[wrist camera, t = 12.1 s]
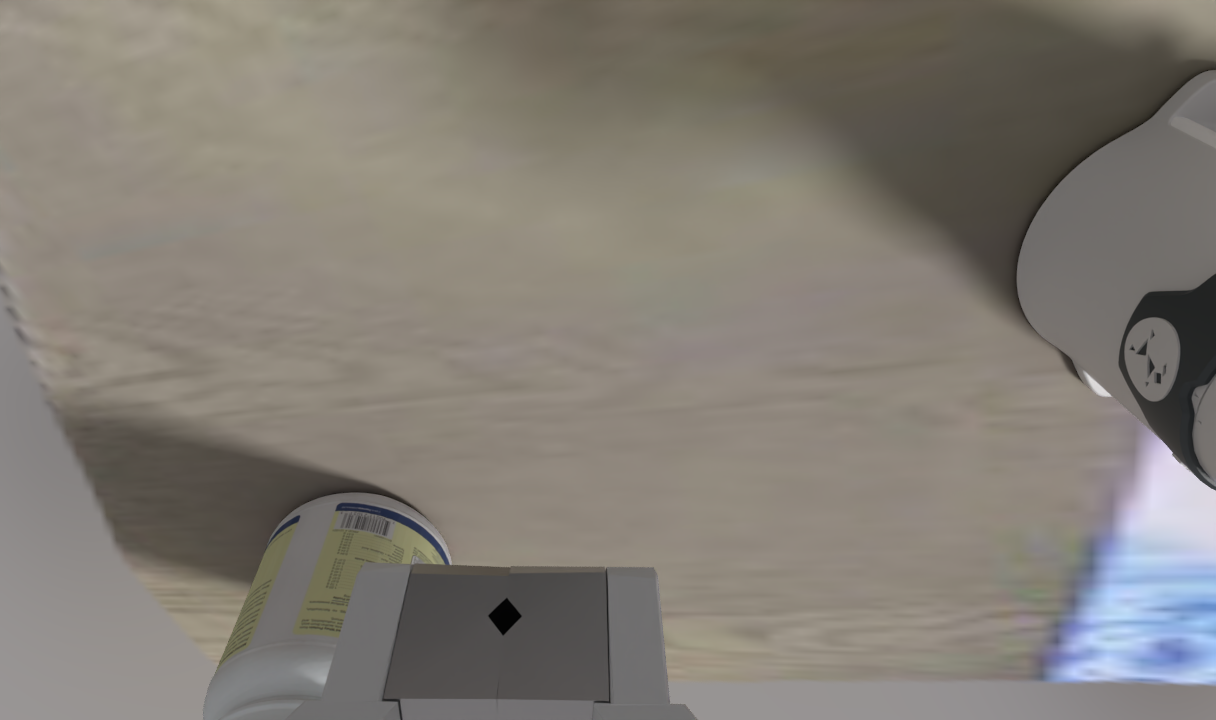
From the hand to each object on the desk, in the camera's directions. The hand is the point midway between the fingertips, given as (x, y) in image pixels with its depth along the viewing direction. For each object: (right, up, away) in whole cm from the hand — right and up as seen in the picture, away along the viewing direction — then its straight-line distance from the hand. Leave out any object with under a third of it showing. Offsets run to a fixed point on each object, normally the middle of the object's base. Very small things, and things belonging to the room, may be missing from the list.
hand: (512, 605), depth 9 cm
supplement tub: (-15, -10, +50) cm, 54 cm away
